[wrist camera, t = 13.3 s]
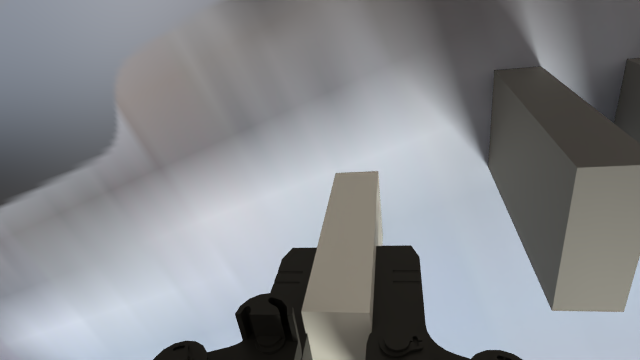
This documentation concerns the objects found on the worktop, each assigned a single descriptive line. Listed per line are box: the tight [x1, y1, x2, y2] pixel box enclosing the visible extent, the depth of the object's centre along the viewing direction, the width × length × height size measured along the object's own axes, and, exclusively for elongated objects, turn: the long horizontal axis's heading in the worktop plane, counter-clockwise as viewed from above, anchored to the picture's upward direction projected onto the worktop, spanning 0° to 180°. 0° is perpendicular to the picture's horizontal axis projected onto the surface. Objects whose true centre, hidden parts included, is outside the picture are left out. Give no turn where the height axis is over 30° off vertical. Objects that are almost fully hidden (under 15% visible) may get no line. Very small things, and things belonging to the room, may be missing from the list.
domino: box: [488, 66, 640, 312], centre depth 16 cm, size 2×5×10 cm, turn 7°
